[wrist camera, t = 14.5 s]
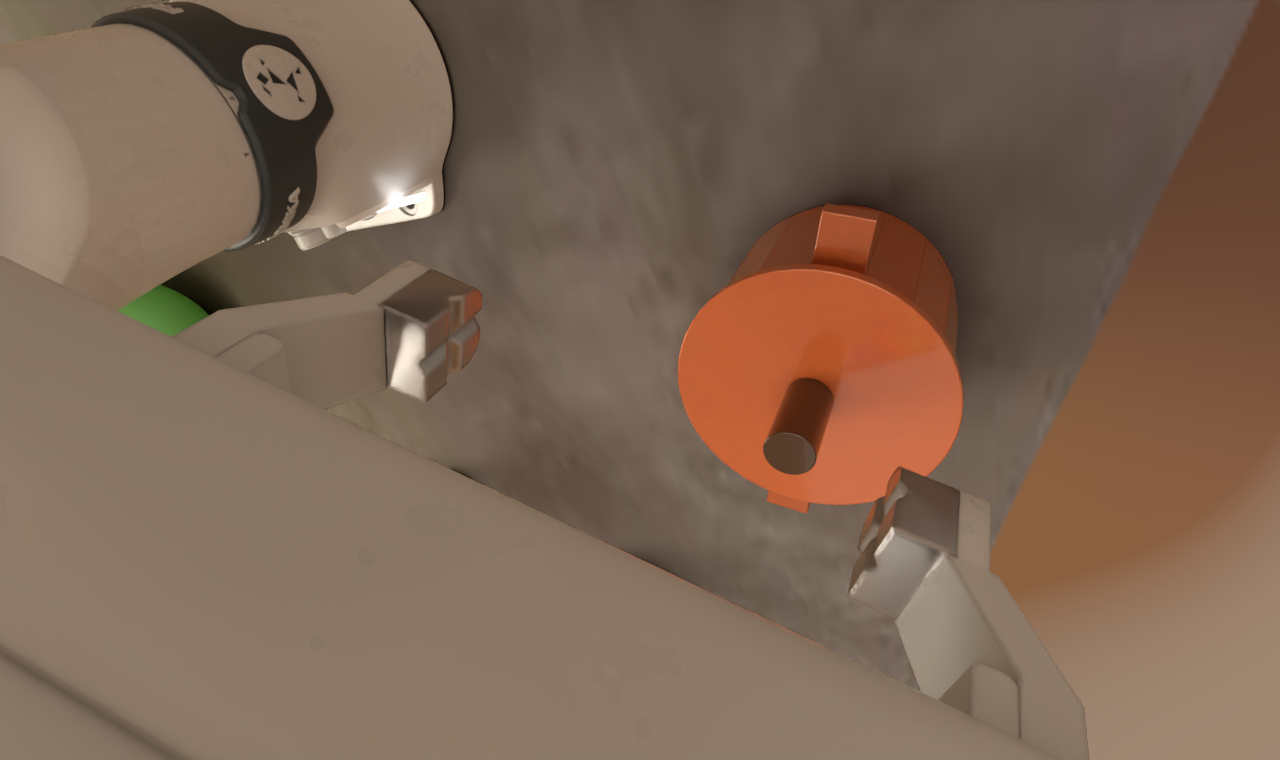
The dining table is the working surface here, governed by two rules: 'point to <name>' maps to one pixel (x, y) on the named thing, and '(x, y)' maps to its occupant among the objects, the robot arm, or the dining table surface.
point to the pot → (861, 264)
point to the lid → (820, 383)
